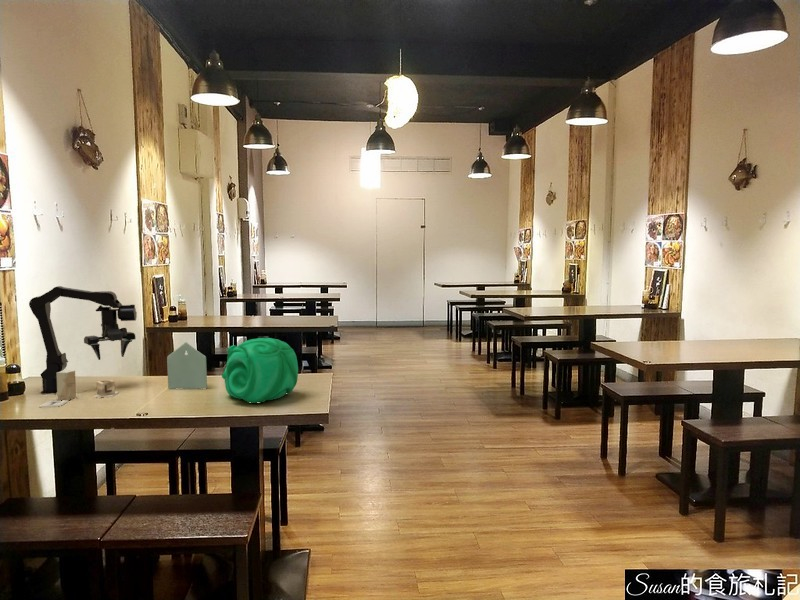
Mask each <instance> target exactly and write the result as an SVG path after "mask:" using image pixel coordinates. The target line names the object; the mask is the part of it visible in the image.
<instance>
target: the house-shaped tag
mask: <svg viewBox="0 0 800 600" xmlns="http://www.w3.org/2000/svg"><path fill="white" fill-rule="evenodd" d="M186 353H187V354H186ZM166 357H167V358H166V360H167V361H166V363H167V364H166V366H167V367H166V368H167V389H168V388H170V389H169V390H177V389H176V388H183V389H182V390H204V389H203V388H207V389H208V379H207V378H208V377H207V376H208V375H207V372H208V370H207V356H206V355H205V354H203V353H201V352H200V351H198V350H197V349H196V348H195V347H194V346H192V344H189V343H188V342H186V341H185V342H184V343H183V344H181V345H180V346H179V347H178V348H177V349H175V350H173V352H171V353H170V354H169V355H167V356H166ZM184 388H185V389H184ZM186 388H187V389H186ZM198 388H200V389H198ZM201 388H202V389H201Z"/></svg>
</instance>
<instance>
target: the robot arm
mask: <svg viewBox="0 0 800 600" xmlns="http://www.w3.org/2000/svg"><path fill="white" fill-rule="evenodd" d="M60 297H63V298H69V299H76V300H83V301H84V300H85V301H89V302H94V304H95V303H96V304H98V305H99V306H98V308H96V309H95V311H96V312H100V315H101V316H100V317H101V323H100V327H101V336H97V335H86V336H84V337H83V343H84V344H86V345H87V346H90V347H91V349H92V350H93V351H94V353H95V356H96V357H97V359H98V360H99V361H101V349H100V343H99V342H105V341H110V342H115V341H120V354H121V357H122V358H123V357H125V354H126V353H125V352H126V350H127V348H128V345H129V344H130V343H131V342H133V340H136V334H135V333H134V332H131V331H128V329H127V327H121V328H120V327H119V324H118V320H120V321H121V322H130V321H135V322H136V320H137V318H138V317H137V310H136V309H137V308H136V304H126V305H125V304H122V303H121V301H119V299H118V296H117V295H116V293H115V292H113V291H109V290H108V291H107V290H106V291H105V290H104V291H103V290H102V291H101V290H100V291H91V290H83V289H78V288H71V287H64V286H60V285H58V286H55V287H53V288H52V289H49V291H47V292H45V293H43V294H41V295H38V296H35V297H32V298H31V299H30V300H29V302H28V305H29V308H30V310H31V312H32V315H34V317H35V318H36V319H37V321H38V326H39V329H40V332H41V337H42V341H43V344H44V346H45V347H44V348H45V350H46V351H45V352H46V356H45V357H46V359H45V363H46V366H45V367H46V369H44V370H43V371H42V372H41V373H40V377H41V381H42V390H41V391H40V394H54V393H55V392H57V372H60V371H65V370H66V367H68V362H69V361H68V359H67V354H66V352H63V353H62V352H61V351H60V348H59V345H58V341H57V339H56V338H57V337H56V334H55V329H54V326H53V323H52V320H51V313H52V312H51V311H52V309H51V308H52V307H51V303H53V302H55V301H56V300H57V299H58V298H60Z"/></svg>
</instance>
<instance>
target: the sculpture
mask: <svg viewBox="0 0 800 600" xmlns="http://www.w3.org/2000/svg"><path fill="white" fill-rule="evenodd" d="M226 359H227V360H226V361H227V362H226V365H225V369H224V370H223V372H222V373H221V374H222V375H221V378H222V379H223V380H224V386H225V390H226V393H227V394H228V395H229V396H231V397H233V398H234V399H237V398H238V399H237V400H240V399H243V401H244V402H246V401H247V402H246V403H248V402H251V403H257V402H263V403H264V402H265V401H266V400H268V401H273V399H274V400H277V398H278V399H279V398H282V397H284V396H285V395H287V394H286V393H289V394H290V393H291V392H292V391H293V390H294V388H295V387H296V385H297V384H298V380H299V379H298V376H299V364H298V363H299V362H298V359H297V354H296V352H295V350H294V349H293V348H292V347H291V346H290V345H289V344H288V343H287V342H286V341H282V340H280V339H278V338H277V339H276V338H272V337H258V338H252V339H251V338H250V339H248V340H245V341H243V342H241V343H239V344H238V345H230V346H229V347H228V348H227V357H226Z"/></svg>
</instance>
